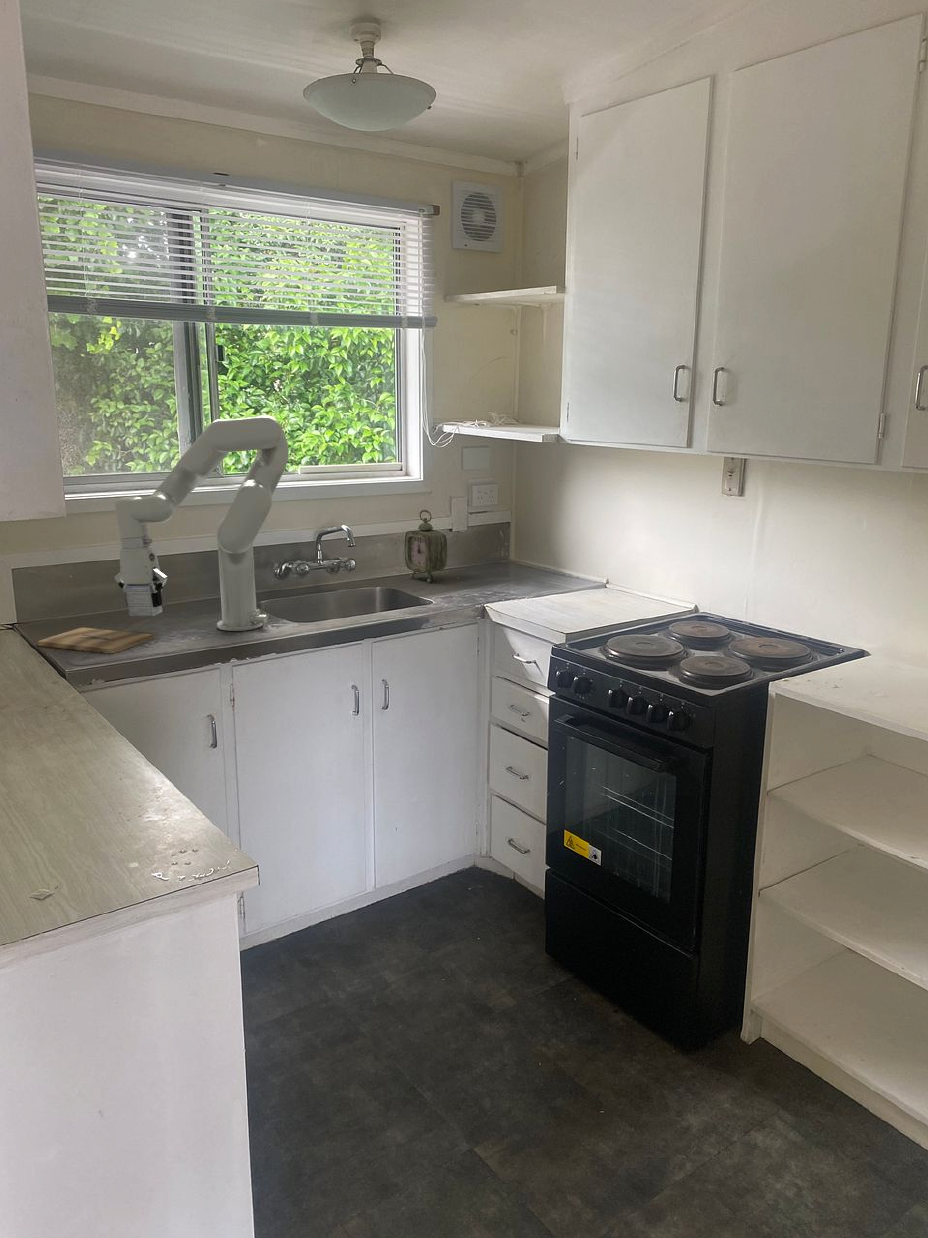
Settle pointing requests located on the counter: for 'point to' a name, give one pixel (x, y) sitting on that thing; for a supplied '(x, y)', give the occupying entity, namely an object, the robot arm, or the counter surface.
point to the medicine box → (141, 601)
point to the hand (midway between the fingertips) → (144, 605)
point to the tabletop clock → (425, 549)
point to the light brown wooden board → (95, 640)
